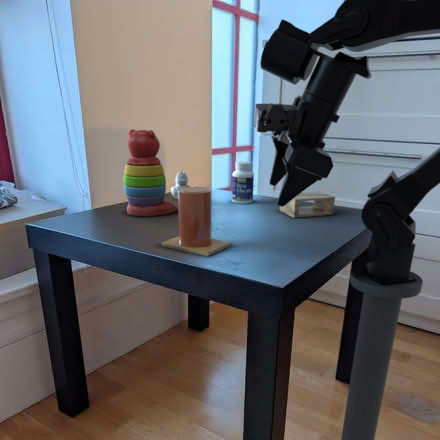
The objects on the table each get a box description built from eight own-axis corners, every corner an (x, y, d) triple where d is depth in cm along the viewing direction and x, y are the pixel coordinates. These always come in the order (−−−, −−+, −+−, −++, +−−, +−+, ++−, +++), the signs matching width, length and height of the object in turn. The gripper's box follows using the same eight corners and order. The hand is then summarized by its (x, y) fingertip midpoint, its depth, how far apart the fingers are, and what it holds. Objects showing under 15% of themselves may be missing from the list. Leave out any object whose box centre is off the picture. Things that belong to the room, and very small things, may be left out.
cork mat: (230, 245, 73) (230, 242, 73) (207, 256, 68) (207, 252, 67) (185, 236, 78) (185, 233, 78) (160, 245, 73) (160, 242, 72)
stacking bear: (180, 210, 98) (177, 129, 91) (151, 219, 90) (145, 131, 83) (145, 205, 103) (139, 127, 96) (115, 213, 95) (106, 129, 88)
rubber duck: (175, 202, 106) (173, 169, 103) (168, 197, 112) (167, 166, 109) (195, 200, 108) (194, 168, 105) (188, 196, 114) (187, 165, 111)
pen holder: (213, 238, 75) (213, 187, 71) (209, 248, 70) (208, 193, 66) (183, 237, 75) (181, 186, 72) (176, 246, 70) (174, 192, 67)
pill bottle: (235, 204, 104) (236, 163, 100) (229, 200, 109) (229, 161, 105) (255, 203, 106) (257, 163, 102) (248, 199, 110) (250, 160, 106)
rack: (333, 214, 95) (335, 196, 93) (293, 217, 92) (295, 199, 90) (317, 208, 101) (318, 191, 99) (279, 211, 98) (280, 193, 96)
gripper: (264, 68, 67) (227, 160, 75) (282, 86, 51) (233, 199, 59) (325, 95, 69) (283, 181, 77) (359, 120, 54) (303, 224, 62)
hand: (275, 194), depth 69 cm, fingers open, 9 cm apart
